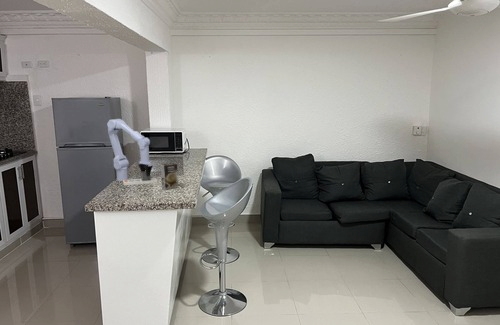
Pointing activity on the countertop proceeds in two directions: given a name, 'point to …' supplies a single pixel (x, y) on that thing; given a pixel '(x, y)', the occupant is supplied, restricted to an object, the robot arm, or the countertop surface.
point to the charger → (145, 176)
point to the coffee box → (169, 176)
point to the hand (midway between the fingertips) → (145, 175)
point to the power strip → (138, 181)
